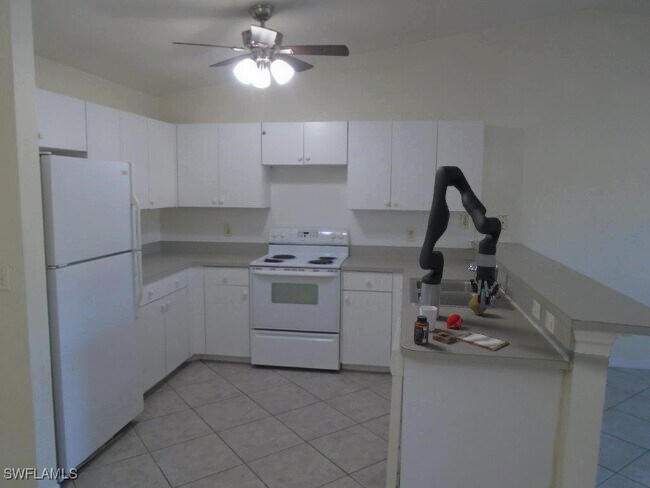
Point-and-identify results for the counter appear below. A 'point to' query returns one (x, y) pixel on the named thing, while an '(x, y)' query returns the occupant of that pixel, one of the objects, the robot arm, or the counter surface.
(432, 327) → the white cup
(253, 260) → the counter surface
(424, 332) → the supplement bottle
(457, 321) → the cap
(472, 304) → the natural sponge
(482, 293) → the marker
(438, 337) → the marker stand
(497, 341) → the clipboard
